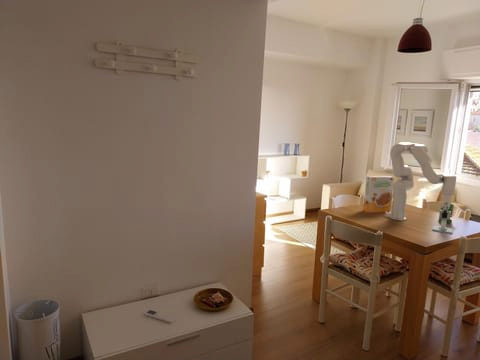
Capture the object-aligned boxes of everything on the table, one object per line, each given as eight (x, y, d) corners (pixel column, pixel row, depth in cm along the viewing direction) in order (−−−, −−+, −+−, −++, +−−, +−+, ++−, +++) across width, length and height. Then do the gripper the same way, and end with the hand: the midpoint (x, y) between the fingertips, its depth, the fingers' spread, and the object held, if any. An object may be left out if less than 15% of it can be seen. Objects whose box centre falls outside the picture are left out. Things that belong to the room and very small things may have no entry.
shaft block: (432, 230, 244) (434, 217, 242) (433, 226, 254) (435, 214, 252) (451, 234, 238) (453, 220, 236) (452, 230, 247) (454, 217, 246)
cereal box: (367, 212, 289) (370, 177, 284) (362, 210, 295) (366, 176, 290) (390, 211, 295) (394, 177, 290) (385, 209, 301) (389, 175, 295)
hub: (438, 218, 243) (439, 211, 242) (439, 216, 249) (440, 209, 248) (449, 219, 240) (450, 212, 239) (450, 217, 245) (451, 211, 244)
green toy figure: (453, 224, 261) (457, 199, 258) (441, 223, 263) (444, 198, 260) (448, 221, 271) (452, 196, 268) (436, 219, 273) (439, 195, 269)
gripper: (442, 189, 250) (439, 213, 253) (440, 193, 236) (437, 218, 239) (454, 191, 246) (451, 215, 249) (453, 195, 232) (450, 220, 235)
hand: (444, 216), depth 244 cm, fingers closed on hub, 6 cm apart
